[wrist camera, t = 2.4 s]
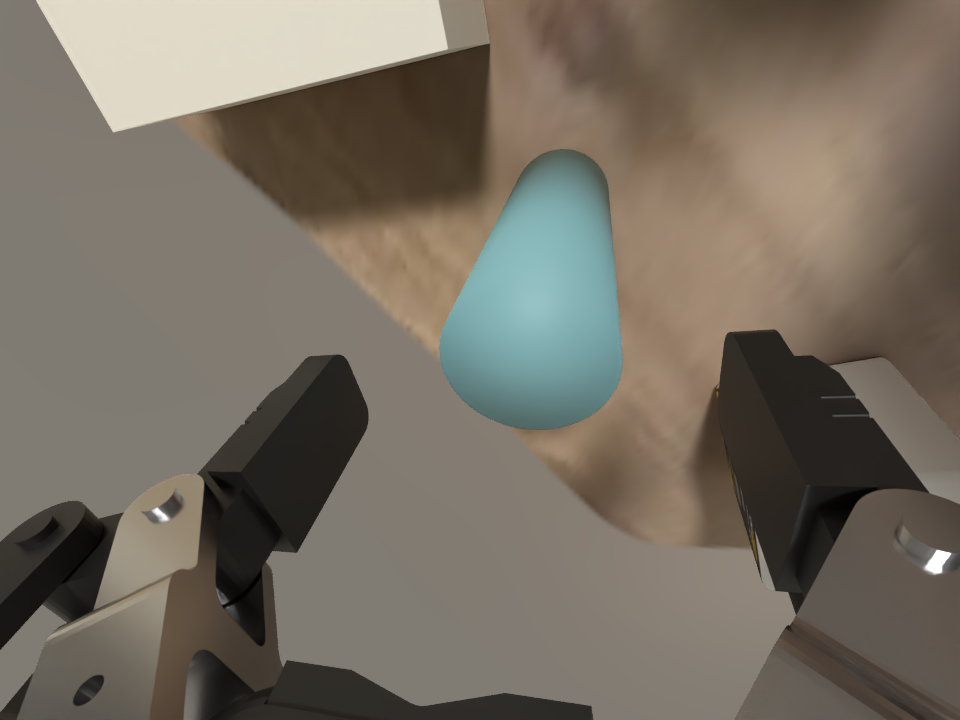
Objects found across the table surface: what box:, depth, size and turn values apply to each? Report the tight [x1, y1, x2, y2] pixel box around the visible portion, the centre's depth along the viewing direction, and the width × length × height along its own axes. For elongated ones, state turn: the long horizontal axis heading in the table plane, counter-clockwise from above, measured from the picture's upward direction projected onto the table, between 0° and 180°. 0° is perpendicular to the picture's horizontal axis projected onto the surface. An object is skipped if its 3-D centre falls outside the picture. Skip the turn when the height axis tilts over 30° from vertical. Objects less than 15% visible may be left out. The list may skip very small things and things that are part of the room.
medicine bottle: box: [716, 357, 960, 615], centre depth 19 cm, size 7×7×12 cm
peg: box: [439, 149, 623, 430], centre depth 15 cm, size 4×4×12 cm
